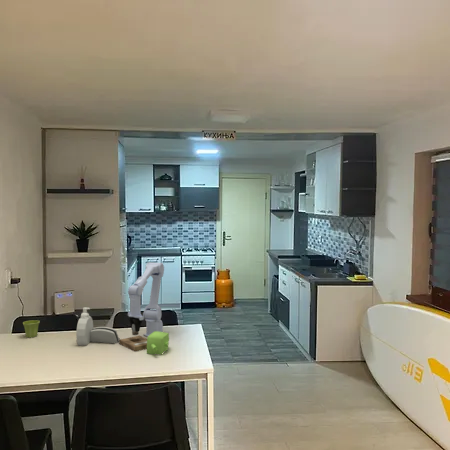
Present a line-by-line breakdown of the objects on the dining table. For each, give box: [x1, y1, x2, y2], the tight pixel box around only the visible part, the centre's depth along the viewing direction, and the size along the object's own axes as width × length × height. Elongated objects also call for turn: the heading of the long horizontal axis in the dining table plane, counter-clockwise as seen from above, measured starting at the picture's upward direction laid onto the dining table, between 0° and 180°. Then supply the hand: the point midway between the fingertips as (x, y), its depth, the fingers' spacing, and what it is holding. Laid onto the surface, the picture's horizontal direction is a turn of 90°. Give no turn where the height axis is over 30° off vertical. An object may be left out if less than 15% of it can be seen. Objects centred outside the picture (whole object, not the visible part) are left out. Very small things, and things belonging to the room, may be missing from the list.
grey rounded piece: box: [90, 326, 120, 344], centre depth 251 cm, size 17×5×10 cm, turn 78°
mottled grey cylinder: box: [131, 323, 140, 336], centre depth 246 cm, size 4×4×6 cm
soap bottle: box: [75, 307, 94, 346], centre depth 250 cm, size 16×5×20 cm, turn 1°
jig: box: [118, 334, 147, 352], centre depth 245 cm, size 13×18×3 cm
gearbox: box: [146, 331, 170, 355], centre depth 233 cm, size 18×10×10 cm, turn 168°
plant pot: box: [22, 320, 41, 338], centre depth 262 cm, size 9×9×9 cm
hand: (135, 330), depth 246 cm, fingers closed on mottled grey cylinder, 4 cm apart
